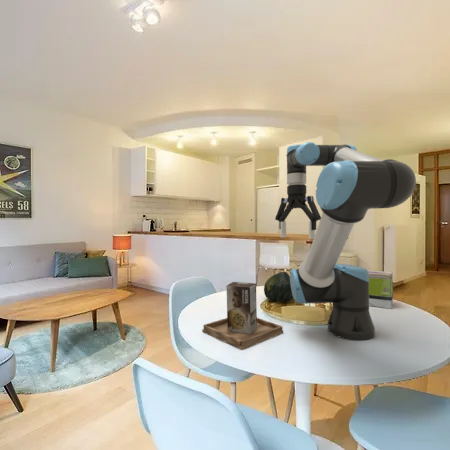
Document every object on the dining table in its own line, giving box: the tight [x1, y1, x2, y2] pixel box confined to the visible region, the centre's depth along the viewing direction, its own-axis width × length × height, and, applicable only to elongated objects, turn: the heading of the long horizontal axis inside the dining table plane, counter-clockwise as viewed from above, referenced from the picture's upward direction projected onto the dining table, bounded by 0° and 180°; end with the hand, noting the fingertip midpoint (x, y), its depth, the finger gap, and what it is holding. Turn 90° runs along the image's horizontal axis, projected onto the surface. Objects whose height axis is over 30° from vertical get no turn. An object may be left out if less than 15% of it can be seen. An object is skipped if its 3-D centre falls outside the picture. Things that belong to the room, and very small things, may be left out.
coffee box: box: [226, 281, 258, 334], centre depth 105 cm, size 9×6×16 cm
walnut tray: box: [201, 317, 284, 351], centre depth 105 cm, size 20×20×2 cm
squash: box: [263, 271, 294, 303], centre depth 145 cm, size 14×15×15 cm
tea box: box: [367, 270, 394, 309], centre depth 137 cm, size 15×10×15 cm
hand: (297, 238), depth 120 cm, fingers open, 13 cm apart
